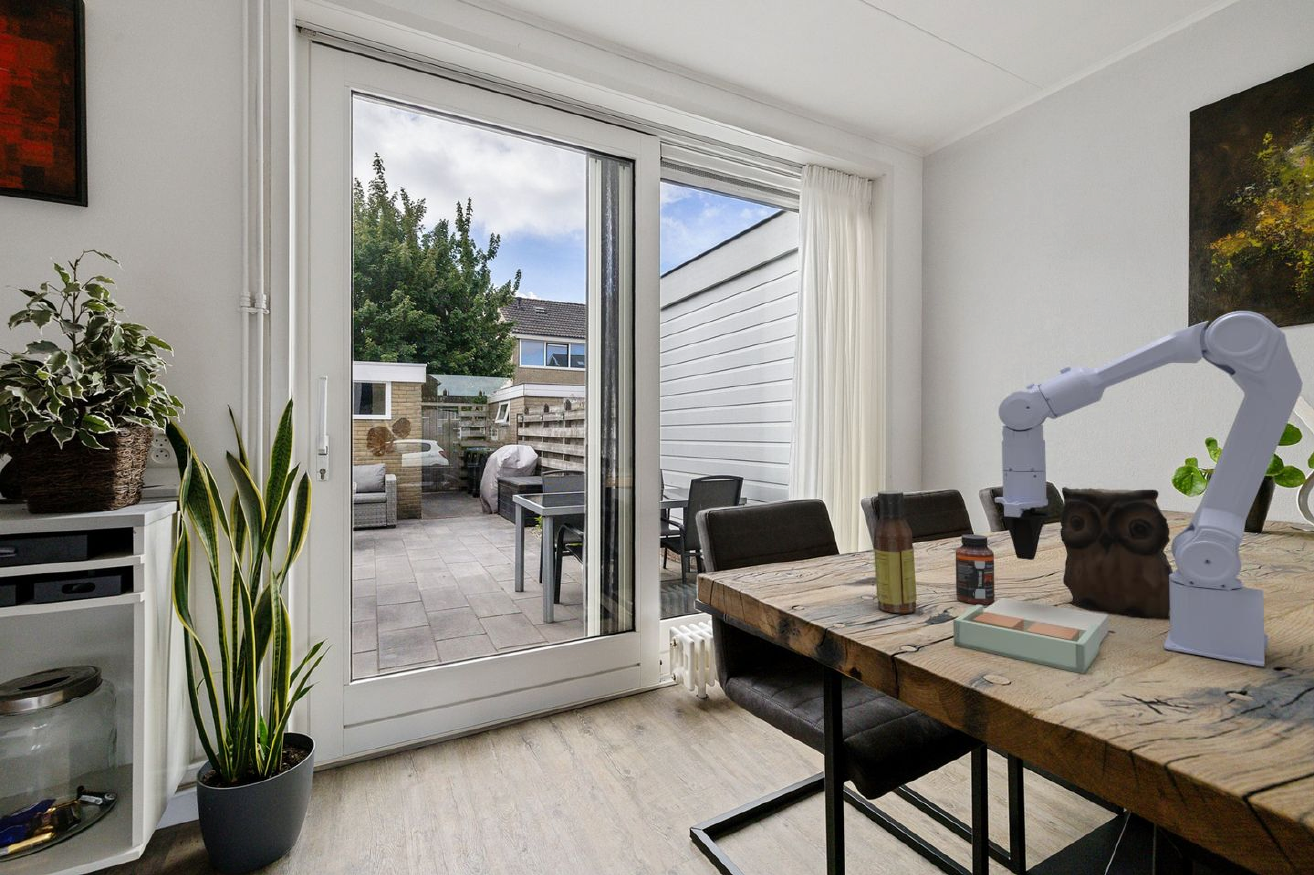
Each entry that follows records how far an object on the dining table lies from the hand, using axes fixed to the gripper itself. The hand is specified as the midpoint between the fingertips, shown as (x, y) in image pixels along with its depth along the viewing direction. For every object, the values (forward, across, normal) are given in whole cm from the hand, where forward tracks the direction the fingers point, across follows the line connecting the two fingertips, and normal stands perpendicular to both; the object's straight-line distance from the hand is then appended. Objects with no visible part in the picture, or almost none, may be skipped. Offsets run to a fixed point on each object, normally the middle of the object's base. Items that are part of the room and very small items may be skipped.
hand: (1025, 558), depth 93 cm
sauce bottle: (+10, +6, -18) cm, 21 cm away
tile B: (+9, +12, -1) cm, 15 cm away
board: (+10, +3, +3) cm, 11 cm away
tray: (+10, +13, +3) cm, 16 cm away
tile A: (+9, +12, +6) cm, 16 cm away
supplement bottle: (+10, -8, -10) cm, 16 cm away
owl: (+10, -18, +10) cm, 23 cm away
